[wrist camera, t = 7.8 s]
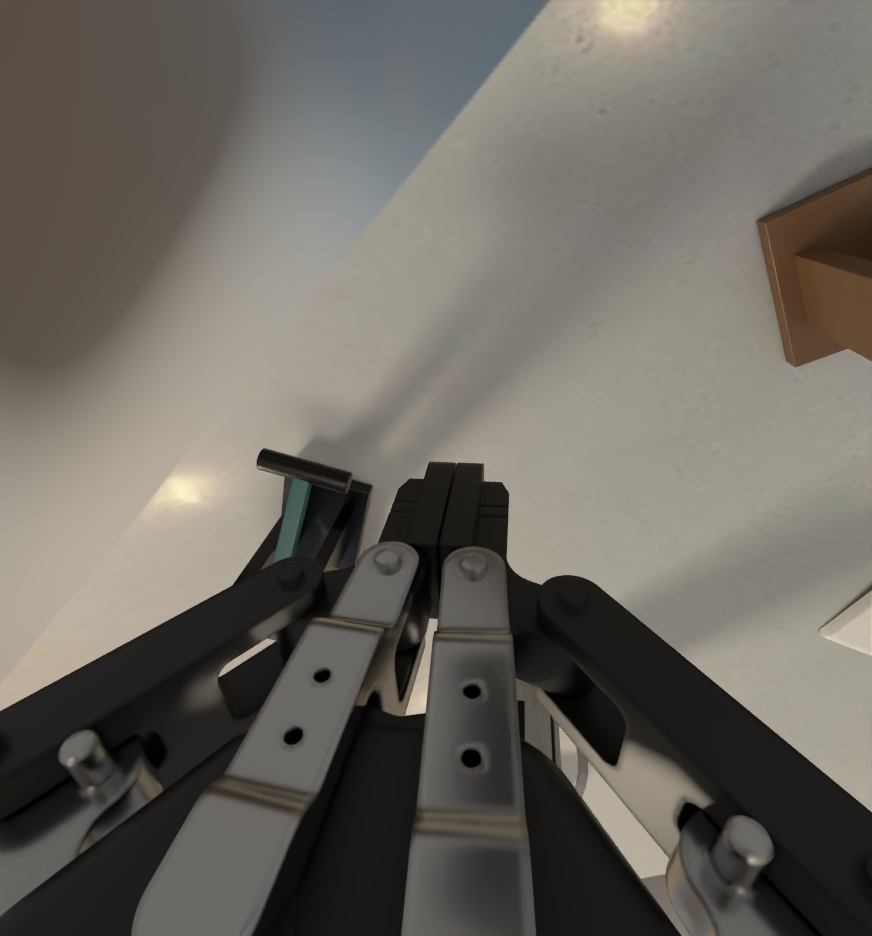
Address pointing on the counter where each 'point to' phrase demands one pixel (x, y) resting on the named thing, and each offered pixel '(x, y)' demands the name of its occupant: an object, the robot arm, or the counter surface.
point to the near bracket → (823, 270)
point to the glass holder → (544, 731)
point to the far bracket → (321, 529)
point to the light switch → (853, 626)
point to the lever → (299, 493)
